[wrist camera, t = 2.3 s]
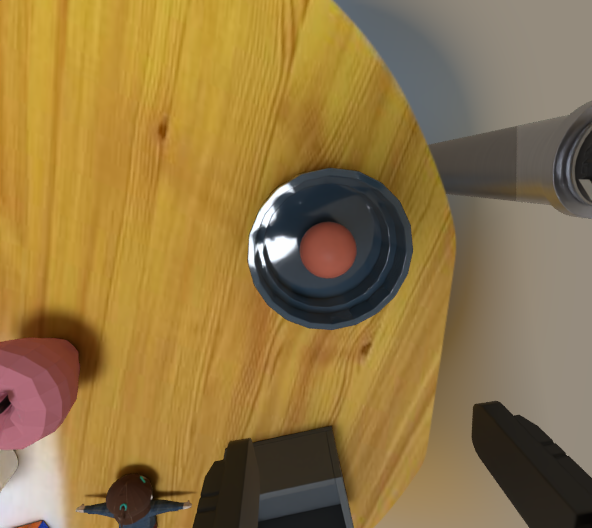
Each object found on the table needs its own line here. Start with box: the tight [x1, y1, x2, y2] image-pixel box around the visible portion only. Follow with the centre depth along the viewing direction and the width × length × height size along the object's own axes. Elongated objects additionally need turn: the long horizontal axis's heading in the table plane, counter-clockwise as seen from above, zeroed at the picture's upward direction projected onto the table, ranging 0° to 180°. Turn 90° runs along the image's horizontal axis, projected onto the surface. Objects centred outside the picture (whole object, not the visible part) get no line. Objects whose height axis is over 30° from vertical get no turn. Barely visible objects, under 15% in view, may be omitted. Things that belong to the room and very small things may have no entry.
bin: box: [223, 426, 354, 528], centre depth 36 cm, size 14×14×7 cm
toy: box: [76, 474, 192, 528], centre depth 37 cm, size 14×5×15 cm
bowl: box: [248, 168, 413, 330], centre depth 28 cm, size 14×14×5 cm
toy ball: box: [300, 222, 357, 278], centre depth 27 cm, size 5×5×5 cm
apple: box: [0, 337, 80, 450], centre depth 27 cm, size 10×9×10 cm
